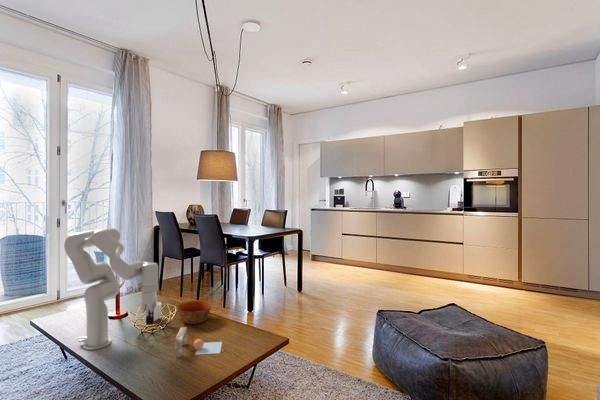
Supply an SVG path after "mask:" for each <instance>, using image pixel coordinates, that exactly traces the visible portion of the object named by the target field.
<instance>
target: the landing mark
mask: <svg viewBox="0 0 600 400" xmlns="http://www.w3.org/2000/svg"><path fill="white" fill-rule="evenodd" d="M203 343H204V344H203V347H202V348H201V349H199V350H197V349H196V351H195V353H194V354H195V356H199V355H213V354H214V355H215V354H221V351H222V345H223V341H215V342H214V341H211V342H203Z"/></svg>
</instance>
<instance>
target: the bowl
mask: <svg viewBox="0 0 600 400" xmlns="http://www.w3.org/2000/svg"><path fill="white" fill-rule="evenodd" d="M212 307H213V304H212V302H211V301H207V300H189V301H183V302H181V303H179V304H178V305H176V309H177V312H178V313H179V317H180V321H181V322H183V323H185V324H191V325H192V324H193V325H196V324H201V323H203V322H205V321H206V320H208V318H209V313H210V312H211V309H212Z"/></svg>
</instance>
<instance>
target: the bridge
mask: <svg viewBox="0 0 600 400" xmlns="http://www.w3.org/2000/svg"><path fill="white" fill-rule="evenodd" d="M187 329H188V328H187V326H185V327H184V326H183V327H181V326H180V328H179V331H178V332H177V334H176V337H175V339H174V357H175V358H181V357H182V355H183V346H186V345H187V342H188V339H187V338H188V337H187V335H188V331H187Z"/></svg>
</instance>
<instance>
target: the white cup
mask: <svg viewBox="0 0 600 400" xmlns="http://www.w3.org/2000/svg"><path fill="white" fill-rule="evenodd" d="M161 313H162V302H160V301H157V306H156V308H155V309H154V319H158V318H160V319H161Z"/></svg>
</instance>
